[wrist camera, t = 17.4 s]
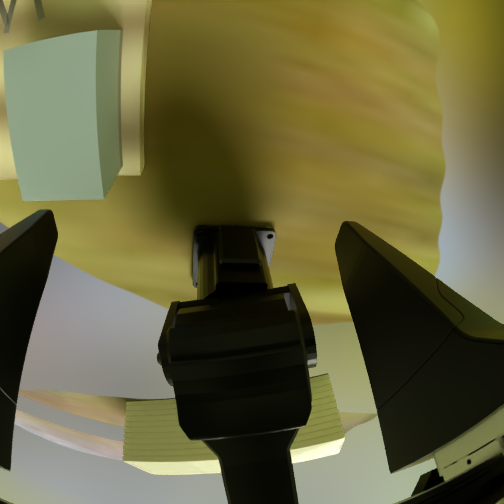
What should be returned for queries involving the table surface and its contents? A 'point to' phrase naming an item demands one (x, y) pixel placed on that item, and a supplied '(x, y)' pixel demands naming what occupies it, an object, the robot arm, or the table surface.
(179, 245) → the table surface
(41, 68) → the block
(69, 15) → the maple board
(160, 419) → the stack of papers
